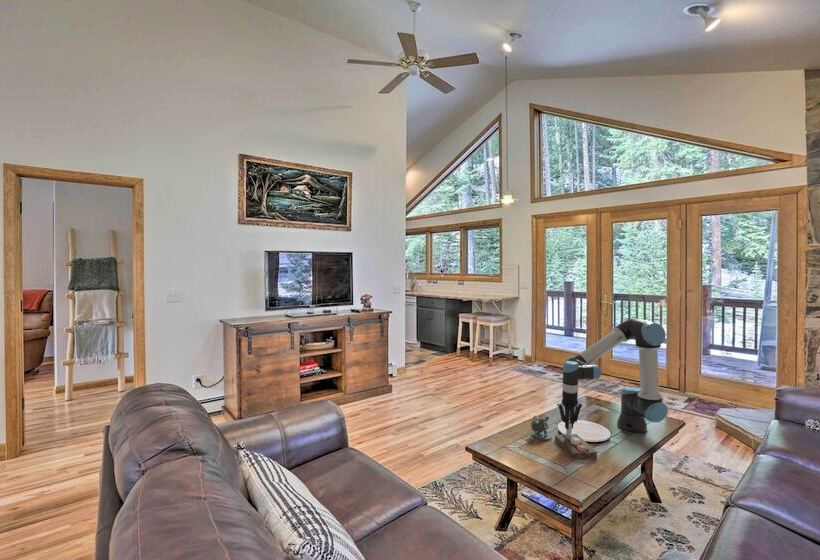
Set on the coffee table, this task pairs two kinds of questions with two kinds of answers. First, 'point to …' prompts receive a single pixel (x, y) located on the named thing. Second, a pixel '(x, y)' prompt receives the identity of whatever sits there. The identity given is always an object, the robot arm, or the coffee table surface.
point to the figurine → (540, 429)
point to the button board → (575, 448)
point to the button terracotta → (581, 448)
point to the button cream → (575, 441)
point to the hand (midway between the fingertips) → (568, 434)
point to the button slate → (568, 437)
